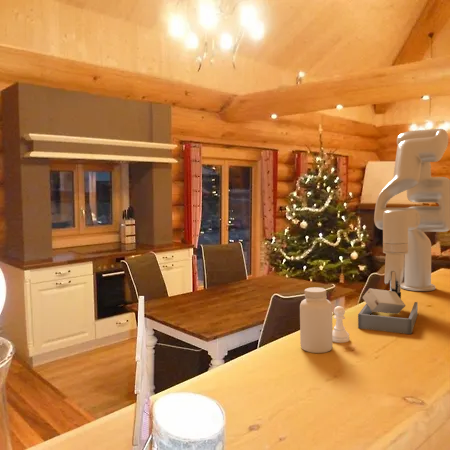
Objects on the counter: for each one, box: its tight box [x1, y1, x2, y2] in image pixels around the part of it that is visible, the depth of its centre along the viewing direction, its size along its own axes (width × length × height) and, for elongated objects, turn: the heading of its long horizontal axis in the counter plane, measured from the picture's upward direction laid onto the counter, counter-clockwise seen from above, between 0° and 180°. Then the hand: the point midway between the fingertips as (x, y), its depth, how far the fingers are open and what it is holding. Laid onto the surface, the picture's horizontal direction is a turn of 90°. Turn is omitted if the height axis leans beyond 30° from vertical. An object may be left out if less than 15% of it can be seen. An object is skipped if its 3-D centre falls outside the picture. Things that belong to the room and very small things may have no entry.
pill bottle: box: [299, 286, 334, 354], centre depth 113 cm, size 8×8×15 cm
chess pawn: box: [332, 305, 350, 344], centre depth 119 cm, size 5×5×9 cm
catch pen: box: [357, 301, 419, 335], centre depth 134 cm, size 20×14×4 cm
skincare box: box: [362, 288, 406, 315], centre depth 140 cm, size 6×4×12 cm
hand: (395, 304), depth 147 cm, fingers closed
